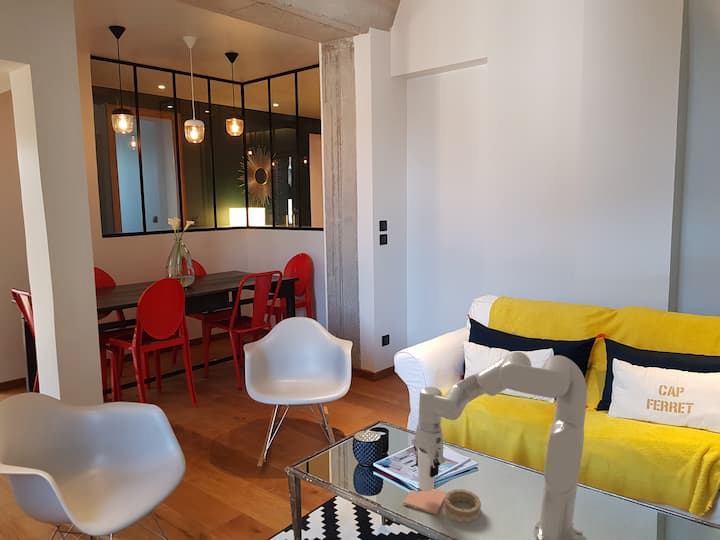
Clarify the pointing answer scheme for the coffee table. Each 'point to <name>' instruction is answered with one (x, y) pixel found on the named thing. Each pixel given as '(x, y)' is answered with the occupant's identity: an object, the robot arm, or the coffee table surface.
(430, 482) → the drinking glass
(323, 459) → the coffee table surface
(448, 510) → the collar ring
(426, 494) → the terracotta tile
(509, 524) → the coffee table surface
